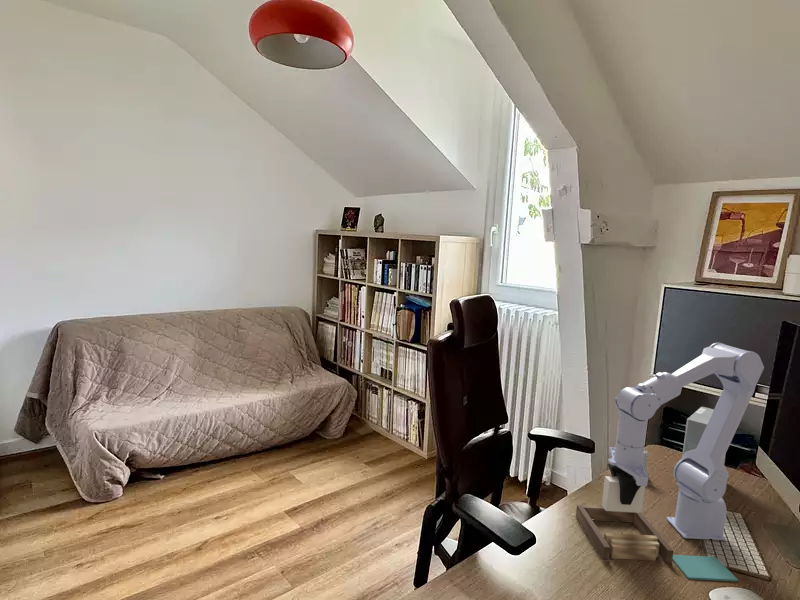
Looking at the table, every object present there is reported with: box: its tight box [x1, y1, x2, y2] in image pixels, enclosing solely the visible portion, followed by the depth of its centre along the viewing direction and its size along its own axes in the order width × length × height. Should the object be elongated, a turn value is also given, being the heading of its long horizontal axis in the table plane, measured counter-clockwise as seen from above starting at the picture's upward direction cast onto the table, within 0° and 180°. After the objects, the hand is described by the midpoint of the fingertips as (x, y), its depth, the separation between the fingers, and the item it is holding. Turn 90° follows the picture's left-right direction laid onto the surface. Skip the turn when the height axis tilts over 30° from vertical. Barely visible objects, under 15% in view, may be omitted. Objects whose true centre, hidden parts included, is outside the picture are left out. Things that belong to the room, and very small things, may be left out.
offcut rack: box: [575, 504, 675, 565], centre depth 111 cm, size 14×16×3 cm
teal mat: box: [672, 554, 739, 583], centre depth 102 cm, size 10×7×1 cm
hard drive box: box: [681, 406, 726, 469], centre depth 138 cm, size 16×8×20 cm, turn 136°
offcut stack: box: [603, 532, 659, 562], centre depth 105 cm, size 11×3×4 cm, turn 90°
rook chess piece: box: [642, 448, 650, 479], centre depth 141 cm, size 4×4×8 cm
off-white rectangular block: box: [601, 475, 646, 514], centre depth 111 cm, size 8×2×7 cm, turn 90°
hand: (622, 500), depth 111 cm, fingers closed on off-white rectangular block, 2 cm apart
